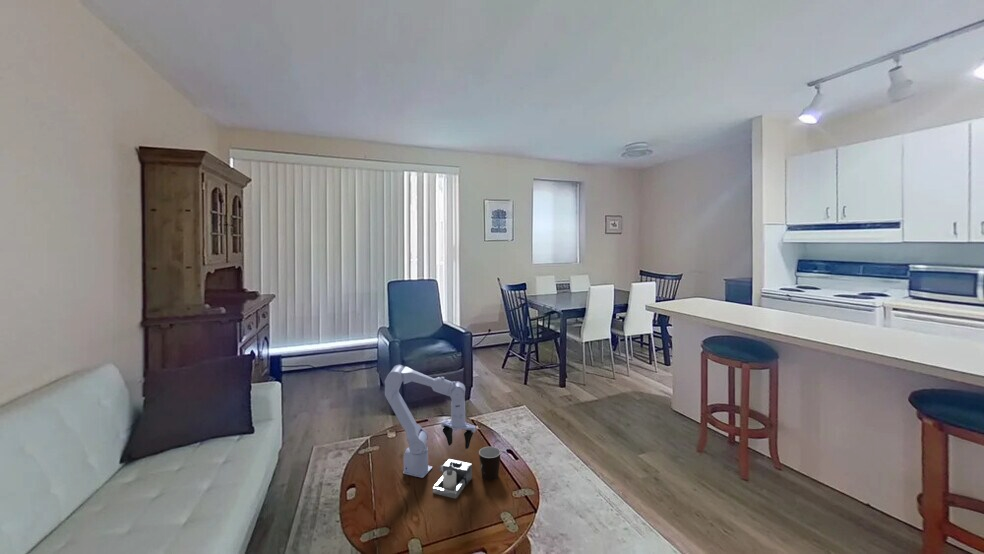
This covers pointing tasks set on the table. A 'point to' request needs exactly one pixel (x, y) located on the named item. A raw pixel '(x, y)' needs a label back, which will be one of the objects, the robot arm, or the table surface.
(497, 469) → the coffee mug
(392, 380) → the robot arm
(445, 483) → the white bottle
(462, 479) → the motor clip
